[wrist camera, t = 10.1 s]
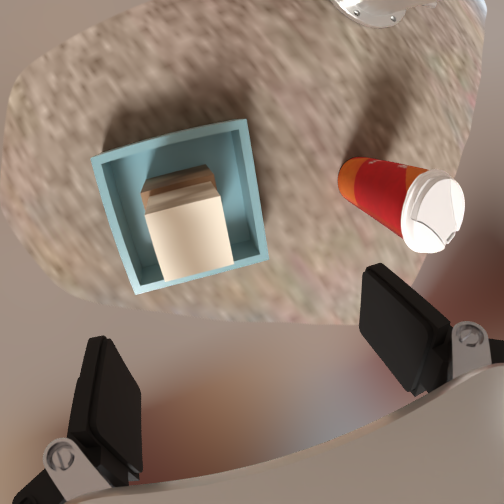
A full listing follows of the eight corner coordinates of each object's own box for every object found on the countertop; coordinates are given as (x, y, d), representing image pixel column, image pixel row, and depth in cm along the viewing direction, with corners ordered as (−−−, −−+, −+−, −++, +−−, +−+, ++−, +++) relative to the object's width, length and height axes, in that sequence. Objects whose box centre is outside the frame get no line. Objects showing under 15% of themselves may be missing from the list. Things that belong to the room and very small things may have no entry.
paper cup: (391, 180, 36) (475, 215, 23) (352, 222, 37) (429, 274, 24) (359, 133, 32) (451, 152, 20) (316, 178, 33) (396, 217, 21)
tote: (235, 119, 28) (246, 118, 24) (256, 242, 34) (269, 259, 31) (101, 152, 26) (90, 158, 22) (138, 273, 32) (135, 294, 28)
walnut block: (205, 164, 29) (213, 174, 24) (217, 220, 32) (227, 242, 26) (145, 179, 28) (140, 193, 23) (161, 235, 31) (159, 260, 25)
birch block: (210, 181, 24) (220, 195, 19) (222, 238, 26) (234, 264, 22) (149, 196, 23) (144, 215, 19) (164, 252, 25) (165, 282, 21)
